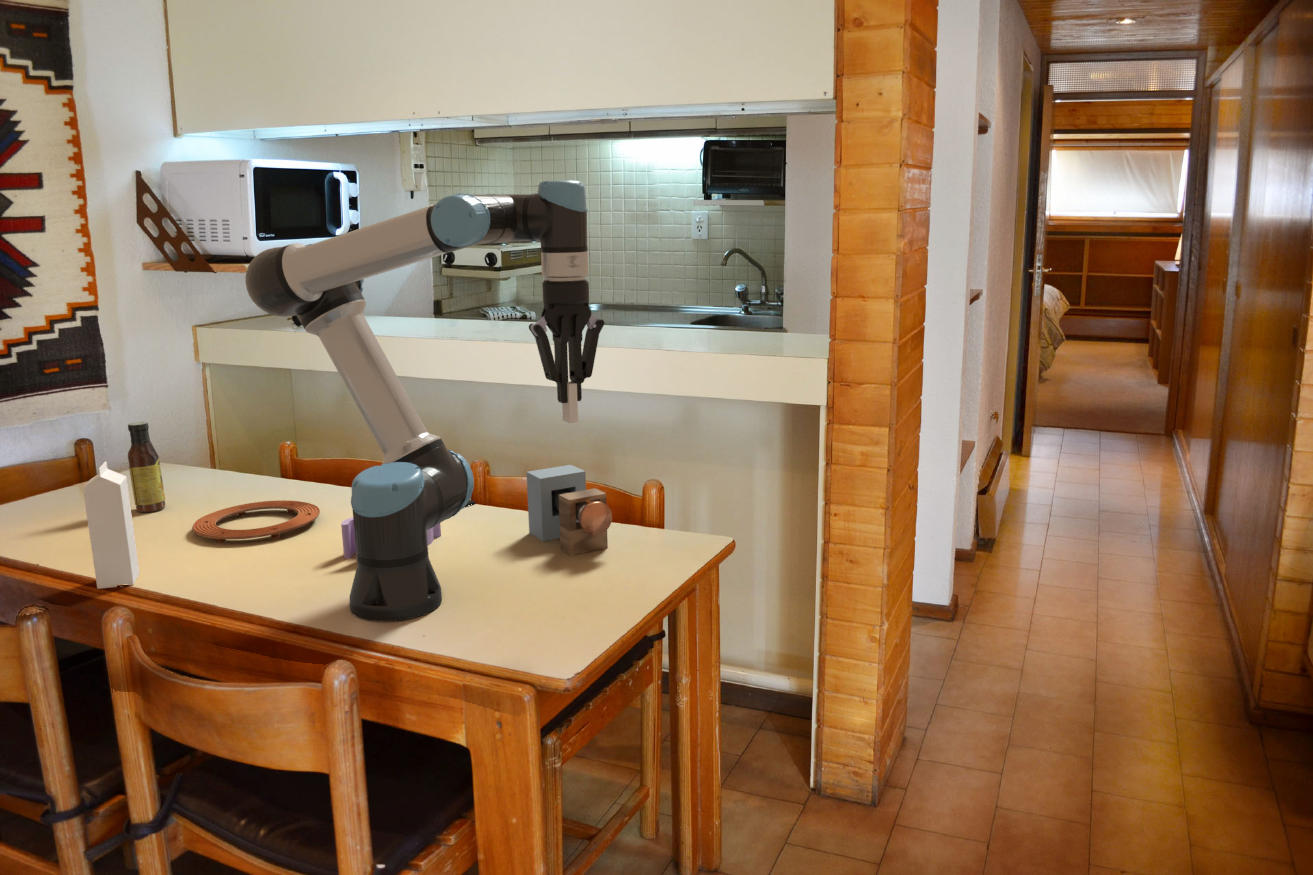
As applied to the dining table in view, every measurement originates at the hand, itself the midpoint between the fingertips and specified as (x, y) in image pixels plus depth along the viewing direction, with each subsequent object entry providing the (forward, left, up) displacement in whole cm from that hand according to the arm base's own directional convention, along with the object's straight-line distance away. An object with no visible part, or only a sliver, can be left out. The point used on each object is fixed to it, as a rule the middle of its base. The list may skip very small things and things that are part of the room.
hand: (570, 421), depth 173 cm
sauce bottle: (-57, +99, -31) cm, 118 cm away
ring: (-39, +72, -31) cm, 88 cm away
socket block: (+12, +32, -30) cm, 46 cm away
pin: (+12, +23, -26) cm, 37 cm away
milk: (-67, +51, -31) cm, 90 cm away
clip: (-19, +43, -31) cm, 56 cm away
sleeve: (+12, +20, -30) cm, 38 cm away
